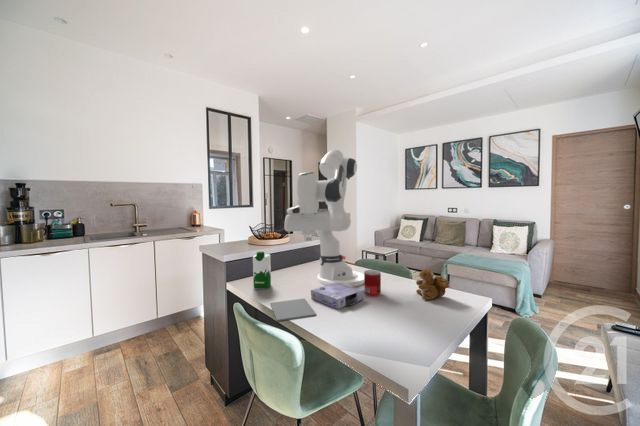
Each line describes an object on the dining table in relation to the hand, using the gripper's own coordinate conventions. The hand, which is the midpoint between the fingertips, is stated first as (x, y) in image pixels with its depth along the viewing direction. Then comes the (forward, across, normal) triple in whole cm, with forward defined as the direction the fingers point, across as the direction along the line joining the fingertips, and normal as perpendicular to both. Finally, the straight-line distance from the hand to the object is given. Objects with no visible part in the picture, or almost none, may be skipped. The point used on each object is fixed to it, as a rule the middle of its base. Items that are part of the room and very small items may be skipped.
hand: (308, 240), depth 116 cm
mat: (+29, +8, +1) cm, 30 cm away
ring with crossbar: (+31, -28, -31) cm, 53 cm away
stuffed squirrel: (+29, -59, +8) cm, 66 cm away
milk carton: (+29, +17, -33) cm, 48 cm away
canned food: (+29, -34, -5) cm, 45 cm away
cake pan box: (+27, -7, 0) cm, 28 cm away
